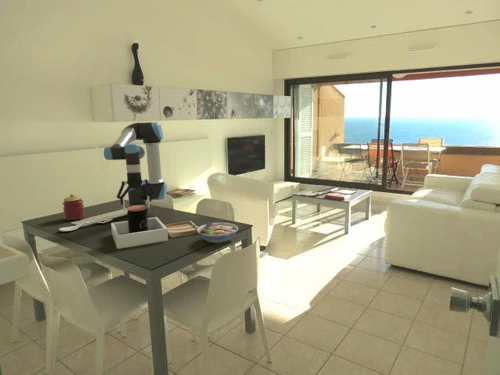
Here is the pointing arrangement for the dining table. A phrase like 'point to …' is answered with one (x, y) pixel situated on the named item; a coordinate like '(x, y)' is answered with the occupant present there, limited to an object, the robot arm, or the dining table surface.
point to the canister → (73, 208)
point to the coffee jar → (137, 218)
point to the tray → (181, 229)
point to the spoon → (80, 225)
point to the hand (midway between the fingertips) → (136, 208)
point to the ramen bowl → (217, 231)
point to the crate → (139, 234)
